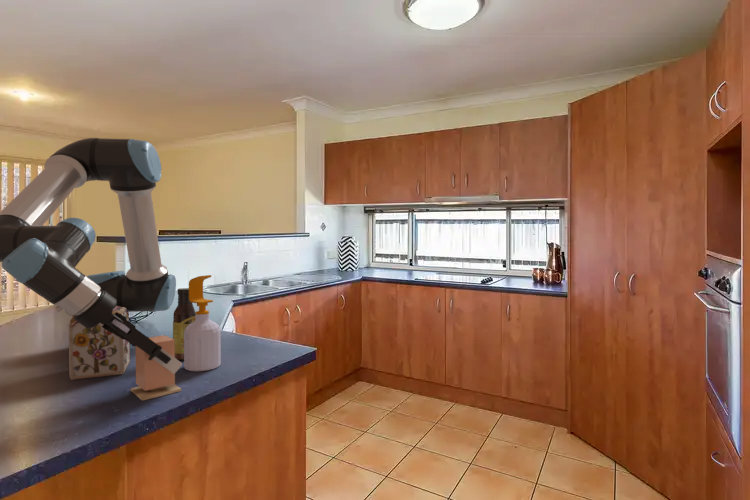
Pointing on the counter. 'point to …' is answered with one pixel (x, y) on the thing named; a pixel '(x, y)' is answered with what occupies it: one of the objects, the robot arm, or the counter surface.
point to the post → (155, 391)
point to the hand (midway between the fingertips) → (172, 365)
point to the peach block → (154, 366)
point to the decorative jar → (97, 350)
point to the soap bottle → (201, 333)
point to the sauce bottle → (182, 320)
